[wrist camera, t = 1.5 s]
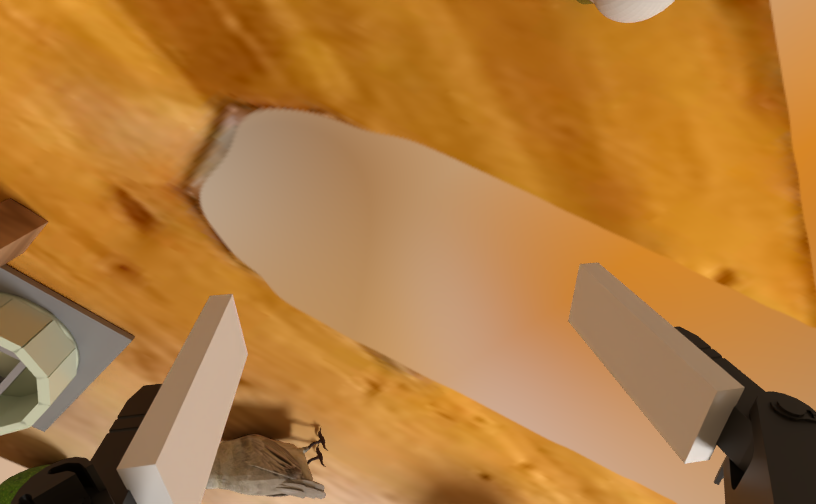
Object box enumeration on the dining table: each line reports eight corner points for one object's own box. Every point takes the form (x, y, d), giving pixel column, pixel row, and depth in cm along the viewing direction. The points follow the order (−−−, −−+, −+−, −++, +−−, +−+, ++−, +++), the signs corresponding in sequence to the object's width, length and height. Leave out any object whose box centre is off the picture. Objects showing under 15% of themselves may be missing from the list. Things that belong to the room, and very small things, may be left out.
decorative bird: (187, 420, 46) (161, 481, 40) (330, 422, 49) (328, 479, 43) (189, 452, 48) (165, 515, 42) (325, 453, 52) (323, 511, 45)
